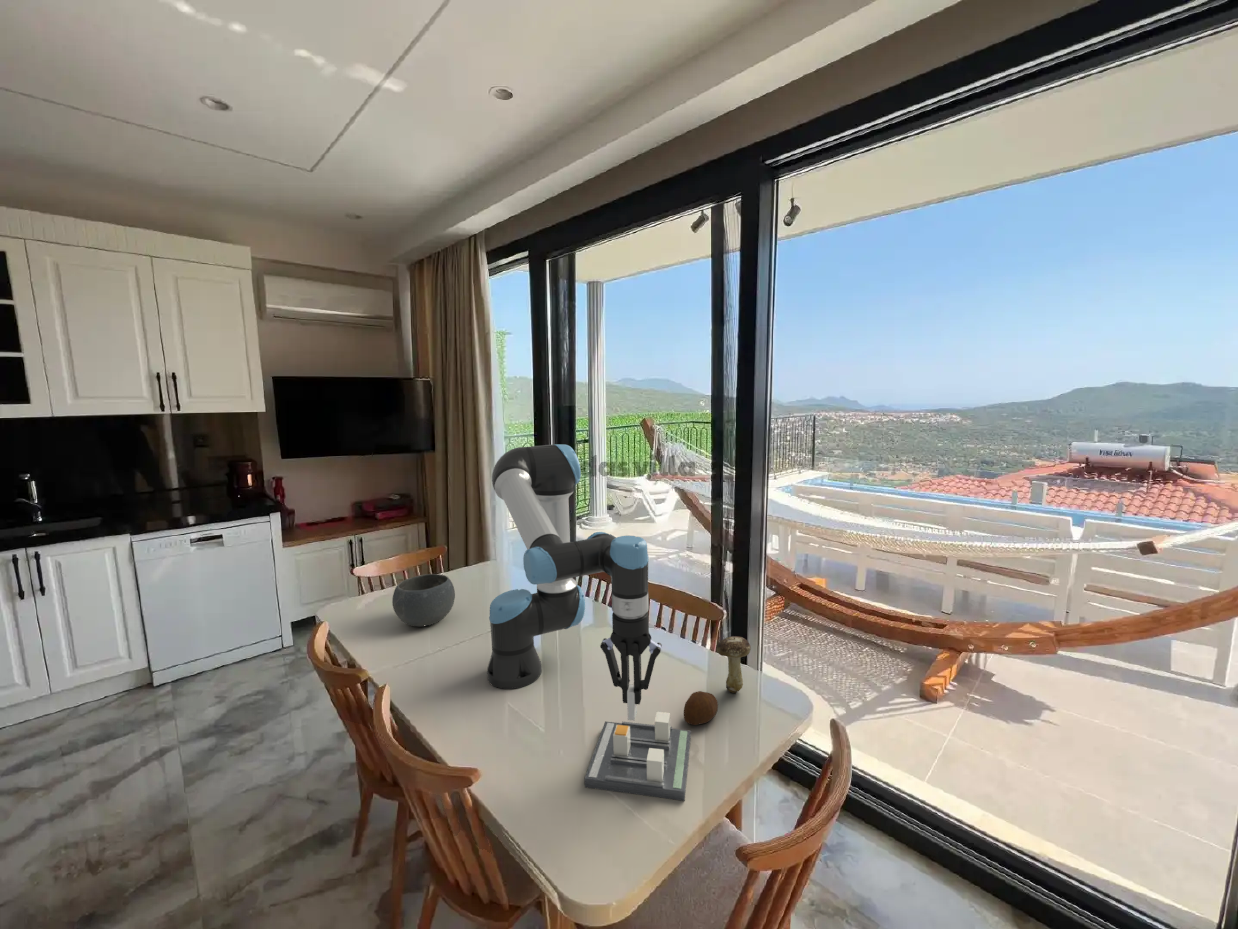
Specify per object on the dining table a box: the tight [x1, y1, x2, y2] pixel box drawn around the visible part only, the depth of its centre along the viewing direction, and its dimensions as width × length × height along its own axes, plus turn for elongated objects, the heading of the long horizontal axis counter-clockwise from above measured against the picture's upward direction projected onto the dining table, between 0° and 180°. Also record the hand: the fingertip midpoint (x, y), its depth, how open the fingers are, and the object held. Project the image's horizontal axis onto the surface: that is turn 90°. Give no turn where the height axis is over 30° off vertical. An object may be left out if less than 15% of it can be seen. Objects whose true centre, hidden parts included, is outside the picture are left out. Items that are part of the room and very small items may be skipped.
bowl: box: [392, 573, 456, 627], centre depth 178 cm, size 20×20×15 cm
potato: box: [683, 690, 719, 726], centre depth 121 cm, size 7×10×7 cm
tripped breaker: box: [613, 725, 631, 756], centre depth 109 cm, size 3×4×5 cm
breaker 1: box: [654, 711, 671, 741], centre depth 113 cm, size 3×4×4 cm
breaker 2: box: [647, 748, 664, 783], centre depth 101 cm, size 3×4×4 cm
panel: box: [584, 721, 692, 802], centre depth 108 cm, size 20×18×3 cm
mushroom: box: [716, 635, 752, 694], centre depth 131 cm, size 9×9×15 cm
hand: (632, 716), depth 108 cm, fingers closed
